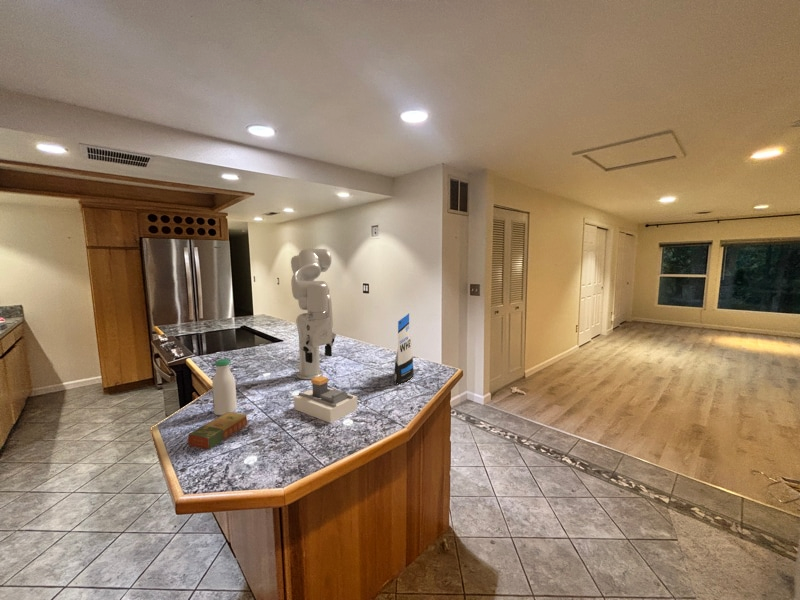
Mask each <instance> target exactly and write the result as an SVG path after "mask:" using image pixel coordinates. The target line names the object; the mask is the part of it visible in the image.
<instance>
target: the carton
mask: <svg viewBox="0 0 800 600" xmlns="http://www.w3.org/2000/svg"><path fill="white" fill-rule="evenodd" d="M247 416H248V415H246V414H243V413H237V412H233V413H232V412H227V413H225V414H223V415H219V416H218V417H216V418H215V419H212V420H211V421H210V422H207V423H206V424H204V425H202V426H200V427H198V428H196V429H195V430H193V431H191V432H189V433H188V435H187V444H188V447H194V448H198V449H199V448H200V449H205V450H211V449H212V448H214V447H215V446H217V445H219V444H220V443H221V442H224V440H226V439H227V438H230V437H231V436H232V435H234V434H236V433H237V432H238V431H240V430H242V429H243V428H245V427H246V426H248V417H247Z"/></svg>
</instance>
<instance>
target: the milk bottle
mask: <svg viewBox="0 0 800 600" xmlns="http://www.w3.org/2000/svg"><path fill="white" fill-rule="evenodd" d="M215 368H216V369H215V370H216V371H215V374H214V377H213V378H212V383H211V384H212V385H211V386H212V387H211V388H212V404H213V413H214V415H216V416H221V415H223V414H225V413H227V412H232V413H236V411H237V410H238V409H237V408H238V407H237V405H238V404H237V402H238V401H237V390H236V389H237V388H236V379H235V377H234V374H233V373H232V371H231V369H230V360H229V358H221V359H218V360H215Z"/></svg>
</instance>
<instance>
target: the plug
mask: <svg viewBox="0 0 800 600" xmlns="http://www.w3.org/2000/svg"><path fill="white" fill-rule="evenodd" d="M310 382H311V383H310V384H312V385H311V386H312V389H313V397H316V398H319V399H320V398H321V395H322V394H324V393H326V392H328V388H329V387H328V382H329V377H327V376H323V375H322V376H318V377H316V378H313V379H310ZM327 387H328V388H327Z"/></svg>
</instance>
